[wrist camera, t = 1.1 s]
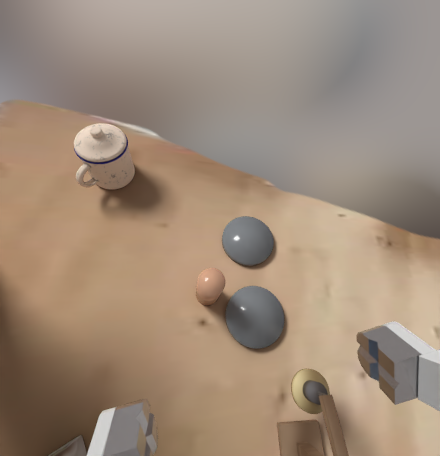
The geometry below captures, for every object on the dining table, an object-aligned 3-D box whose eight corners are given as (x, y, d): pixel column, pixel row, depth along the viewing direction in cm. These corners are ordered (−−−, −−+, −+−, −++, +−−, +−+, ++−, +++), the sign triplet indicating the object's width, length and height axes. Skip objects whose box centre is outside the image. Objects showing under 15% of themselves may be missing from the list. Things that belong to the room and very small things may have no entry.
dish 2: (226, 349, 40) (227, 349, 39) (224, 287, 45) (224, 286, 44) (286, 347, 42) (288, 347, 41) (278, 286, 46) (279, 285, 45)
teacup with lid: (110, 150, 55) (92, 103, 44) (145, 168, 54) (134, 125, 43) (70, 188, 50) (39, 146, 39) (108, 209, 49) (86, 171, 38)
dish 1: (223, 265, 46) (223, 264, 45) (221, 218, 51) (221, 215, 50) (275, 265, 48) (276, 264, 47) (268, 219, 52) (270, 216, 51)
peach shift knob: (195, 305, 43) (197, 295, 35) (196, 282, 45) (197, 267, 36) (219, 305, 43) (226, 295, 35) (218, 282, 45) (224, 267, 37)
